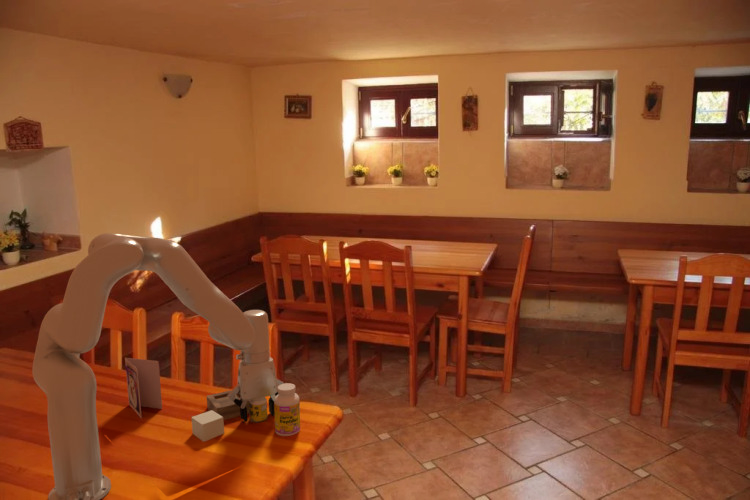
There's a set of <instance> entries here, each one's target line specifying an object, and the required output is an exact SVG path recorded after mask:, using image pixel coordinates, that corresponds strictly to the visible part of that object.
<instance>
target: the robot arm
mask: <svg viewBox="0 0 750 500" xmlns="http://www.w3.org/2000/svg"><path fill="white" fill-rule="evenodd" d="M135 271H147V272H152V273H155V274H156V275H157V276H158V277H159V278H160V279H161V280H162V281H163V283H164V284H165V285H166V286H168V288H169V289H170V290H171V291H172V292H173V294H174V295H175V296H176V297H177V299H178V300H179V301H180V302H181V303H182V304H183V306H185V307H187V309H189V310H190V311H191V312H193V313H195V314H197V315H198V316H200V317H201V318H203V319H205V320H206V321H207V322H209V324H208V327H207V330H208V334H209V336H210V338H211V339H212V340H214V341H216V343H219V344H222V345H223V346H227V347H228V348H230V349H233V350H235V351H240V353H239V354H236V356H235V357H236V360H239V364H238V370H237V371H238V372H237V384H236V386H234V388H232V391H231V392H230V393H229V394H228V397H229V399H231V400H232V401H233V402H234V403H235V404H236V405H238V406H239V407H240V416H239V417H240V418H241V419H243V421H244V422H248V421H249V419H248V413H247V408H246V403H247V401H248V400H252V399H257V398H262V397H265V398H266V397H269V399H268V411H269V414H271V416H274V417H275V411H274V399H275V397H276V396H277V395H278V394H279V393H278V386H279V385H281V384H285V383H286V382H285V383H284V382H283V381H282V380H280V379H278V378H277V373H276V366H275V361H274V359H273V358H272V357H271V356H270V354H271V353H270V333H269V330H270V329H269V328H270V327H269V316H268V315H269V314H268V313H267V312H266V311H264V310H262V309H249V310H246V311H244V312H243V310H241V309H240V308H239V306H238V305H236V304H235V303H234V301H232V299H230V298H229V297H228V296H227V295H226V294H224V292H223V291H221V290H220V289H219V288H218V286H216V285H215V284H214V282H212V281H211V280H210V279H209V278H208V277H207V274H205V272H203V270H202V269H201V267H199V265H198V264H197V263H196V262H195V260H194V259H193V258H192V256H191V255H190V254H189V253H188V252H187V251H186V249H185V248H184V247H183V246H182V245H181V244H179V243H178V242H175V241H172V240H169V239H164V238H161V237H160V238H159V237H151V236H139V235H128V234H122V233H121V234H120V233H111V232H110V233H109V232H105V233H102V234H98V235H97V236H95V237H93V239H92V240H91V241H90V243H89V245H88V247H87V256H85V257H84V258H83V259H82V260H80V262H79V263H78V264H77V265H76V266H75V268H74V269H73V271H72V273H71V274H70V276H69V279H68V282H67V286H66V289H65V293H64V297H63V299H62V300H63V301H62V303H61V302H60V303H57V304H56V305H54V306H52V307H51V308H50V309H49V310H48V311H47V313H46V314H45V315H44V317H43V319H42V321H41V323H40V328H39V332H38V338H37V343H36V345H35V351H34V357H33V363H32V377H33V380H34V382H35V384H36V385H37V386H38V387H39V388H40V389H41V390H42V391H43V393H44V394H45V395H46V398H47V427H48V429H47V430H48V436H49V444H50V452H51V462H52V470H53V479H54V487H53V488H52V489H50V491H49V493H48V495H47V496H48V497H47V499H48V500H102V499H103V498H104V497H105V496H107V494H108V493H109V492H110V490H111V488H112V484H111V483H112V482H111V479H110V478H109V477H108V476H106V475H105V474H103V469H102V466H103V465H102V457H101V448H100V447H101V446H100V438H99V437H100V435H99V426H98V419H97V418H98V417H97V404H96V402H97V388H98V387H97V379H96V376H95V375H96V374H95V373H94V371H93V369H92V368H91V366H89V364H87V362H86V361H84V360H82V359H81V358H80V356H81V354H84V353H87V352H89V351H91V350H92V349H94V348H95V347H96V345H97V344H98V342H99V340H100V336H101V335H102V334H101V333H102V329H103V328H102V327H103V322H104V318H105V313H106V307H107V302H108V300H109V299H108V298H109V296H110V293H111V291H112V288H113V287H114V285H115V284H116V283H117V282H118V281H119V280H120V279H122V278H124V277H125V276H127V275H130V274H132V273H134V272H135ZM237 393H239V394H240V396H241V397H240V399H237V398H236V397H235V395H236V394H237Z"/></svg>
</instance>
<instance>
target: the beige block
mask: <svg viewBox="0 0 750 500" xmlns="http://www.w3.org/2000/svg"><path fill="white" fill-rule="evenodd" d="M224 422H225V420H223V417H222V416H221V415H219V414H218V413H216V412H214V411H213V410H211V411H209V410H208V411H205V412H203V413H199V414H197V415H193V416H191V429H192V430H191V431H192V435H193V436H195V437H196V438H198V439H199V440H200V441H202V442H203V443H204V442H207V441H209V440H212V439H214V438H216V437H218V436H221V435H224V434H225V424H224Z"/></svg>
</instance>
